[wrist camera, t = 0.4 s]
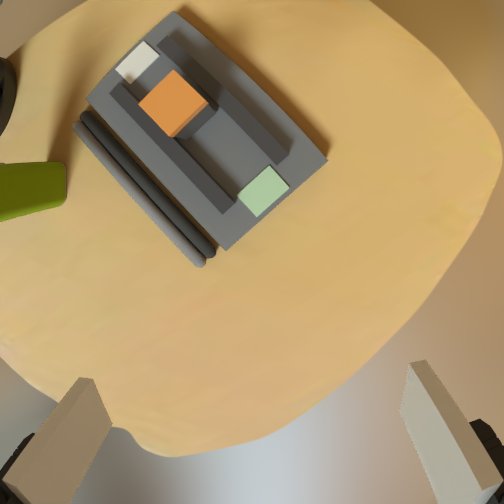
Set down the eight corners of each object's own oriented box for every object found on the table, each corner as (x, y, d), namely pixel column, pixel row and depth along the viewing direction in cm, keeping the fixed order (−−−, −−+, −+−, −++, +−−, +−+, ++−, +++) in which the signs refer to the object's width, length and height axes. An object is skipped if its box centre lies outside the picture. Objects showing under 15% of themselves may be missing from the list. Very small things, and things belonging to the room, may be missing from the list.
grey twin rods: (74, 127, 33) (68, 126, 32) (89, 109, 32) (83, 107, 31) (200, 267, 37) (198, 271, 35) (219, 250, 36) (217, 254, 35)
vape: (65, 158, 34) (-62, 167, 15) (66, 206, 36) (-57, 243, 16) (44, 161, 34) (-79, 173, 15) (45, 207, 36) (-74, 242, 16)
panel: (93, 101, 32) (78, 96, 29) (178, 17, 29) (169, 4, 26) (228, 246, 36) (223, 255, 32) (325, 161, 33) (331, 160, 29)
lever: (161, 114, 30) (138, 104, 24) (190, 86, 29) (173, 69, 23) (187, 141, 31) (168, 136, 25) (217, 112, 30) (205, 100, 24)
